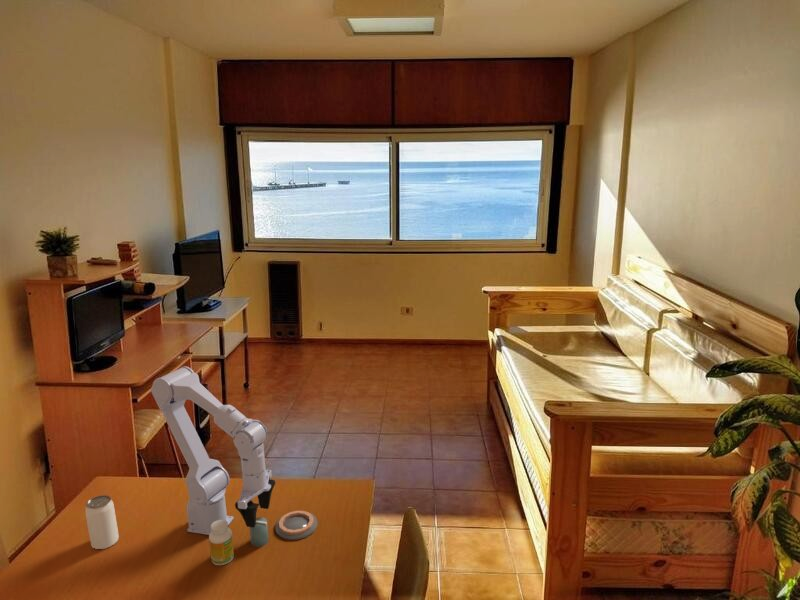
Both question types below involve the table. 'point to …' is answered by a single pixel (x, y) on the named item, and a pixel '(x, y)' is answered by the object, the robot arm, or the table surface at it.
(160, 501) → the table surface
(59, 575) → the table surface
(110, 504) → the can
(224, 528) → the supplement bottle
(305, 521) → the socket
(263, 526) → the cylinder with tan strip
